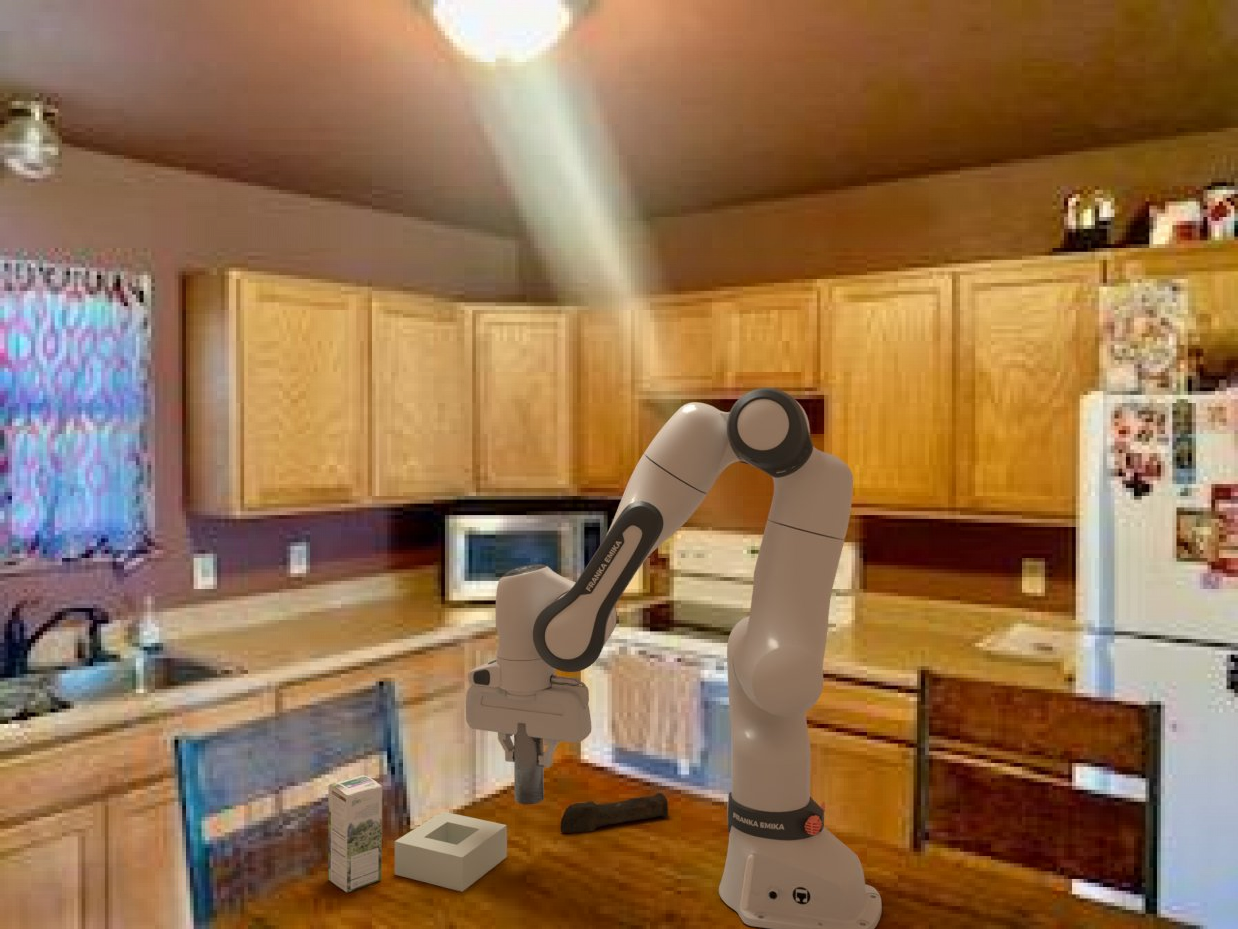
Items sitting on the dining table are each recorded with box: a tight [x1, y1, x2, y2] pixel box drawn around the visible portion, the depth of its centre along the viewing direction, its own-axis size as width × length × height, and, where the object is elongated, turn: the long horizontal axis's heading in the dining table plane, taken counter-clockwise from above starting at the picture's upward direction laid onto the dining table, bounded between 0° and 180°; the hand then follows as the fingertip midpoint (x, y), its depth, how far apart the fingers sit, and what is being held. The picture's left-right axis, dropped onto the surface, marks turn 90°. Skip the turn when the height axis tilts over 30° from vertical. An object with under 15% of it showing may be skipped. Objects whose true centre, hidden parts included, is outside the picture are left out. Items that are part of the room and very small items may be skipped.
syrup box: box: [327, 774, 383, 894], centre depth 135 cm, size 6×6×14 cm
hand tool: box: [560, 792, 669, 834], centre depth 156 cm, size 19×4×5 cm, turn 111°
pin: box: [513, 723, 545, 805], centre depth 140 cm, size 4×4×12 cm
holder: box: [394, 811, 508, 893], centre depth 140 cm, size 12×12×5 cm
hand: (528, 763), depth 140 cm, fingers closed on pin, 4 cm apart
